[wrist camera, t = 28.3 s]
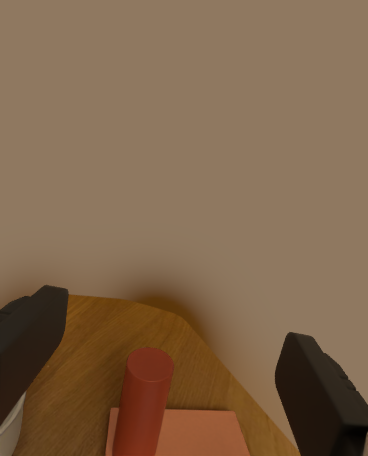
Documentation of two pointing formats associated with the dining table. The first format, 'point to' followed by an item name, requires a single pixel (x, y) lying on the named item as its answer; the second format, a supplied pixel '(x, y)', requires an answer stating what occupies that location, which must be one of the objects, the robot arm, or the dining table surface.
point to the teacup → (11, 429)
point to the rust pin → (142, 402)
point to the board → (193, 434)
